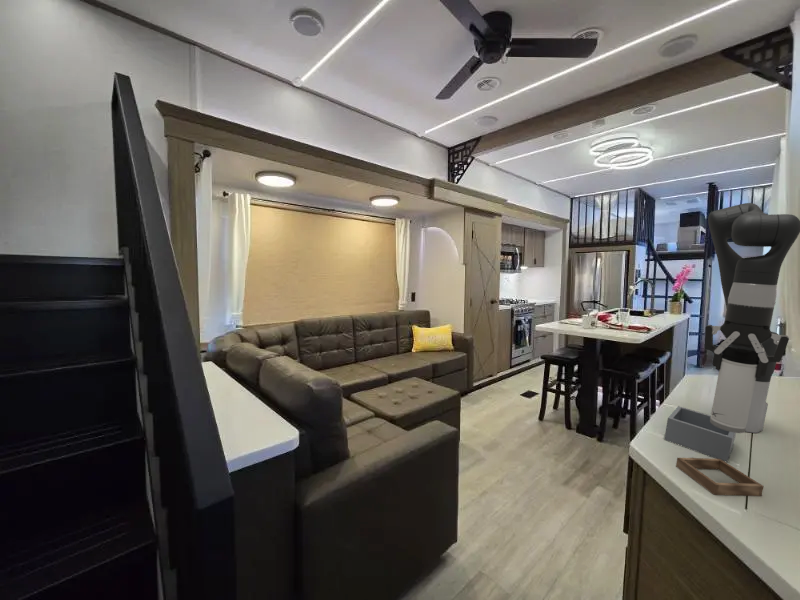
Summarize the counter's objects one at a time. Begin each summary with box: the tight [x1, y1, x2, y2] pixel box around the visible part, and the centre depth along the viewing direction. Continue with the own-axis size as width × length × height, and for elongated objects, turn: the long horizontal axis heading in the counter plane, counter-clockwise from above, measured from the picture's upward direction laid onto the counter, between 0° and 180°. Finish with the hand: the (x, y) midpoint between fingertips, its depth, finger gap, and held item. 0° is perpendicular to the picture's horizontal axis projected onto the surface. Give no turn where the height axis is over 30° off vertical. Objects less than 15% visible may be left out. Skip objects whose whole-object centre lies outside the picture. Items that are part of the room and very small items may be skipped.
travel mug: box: [710, 346, 760, 434], centre depth 81 cm, size 6×7×20 cm
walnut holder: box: [675, 457, 765, 497], centre depth 85 cm, size 12×11×2 cm
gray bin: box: [663, 405, 737, 463], centre depth 102 cm, size 14×14×7 cm
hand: (737, 372), depth 81 cm, fingers closed on travel mug, 6 cm apart
